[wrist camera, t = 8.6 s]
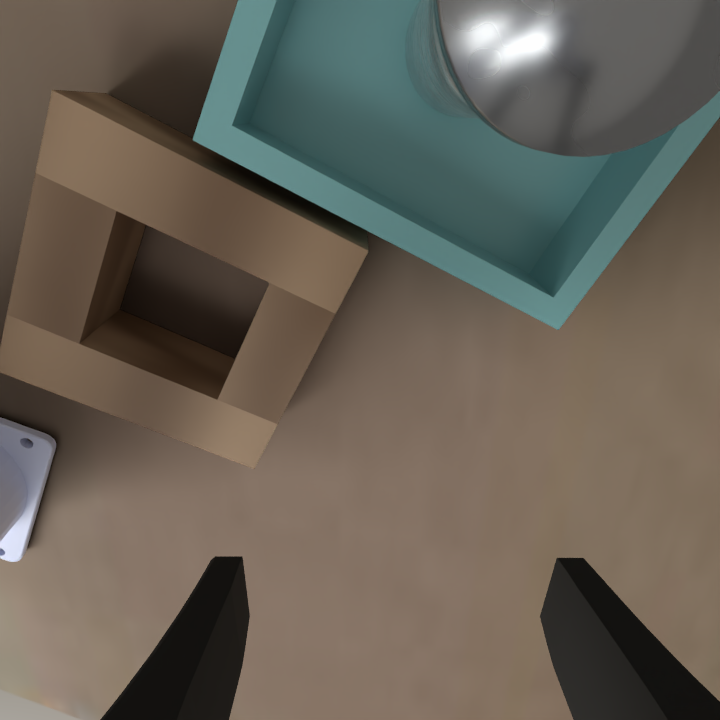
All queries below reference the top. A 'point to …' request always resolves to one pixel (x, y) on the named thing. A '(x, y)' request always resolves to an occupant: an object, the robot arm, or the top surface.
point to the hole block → (115, 262)
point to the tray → (424, 155)
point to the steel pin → (567, 67)
